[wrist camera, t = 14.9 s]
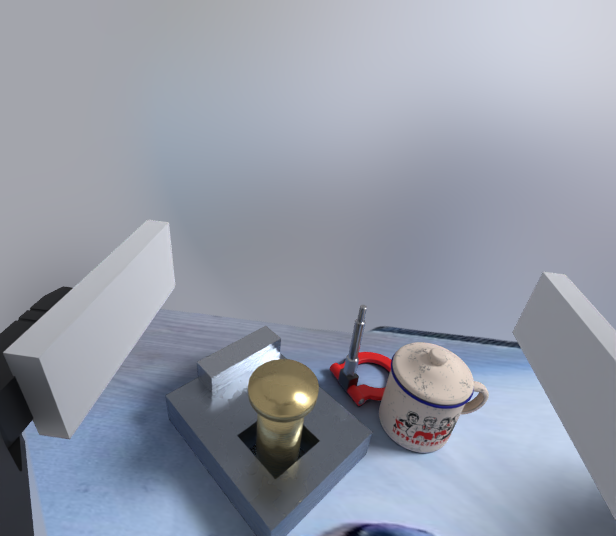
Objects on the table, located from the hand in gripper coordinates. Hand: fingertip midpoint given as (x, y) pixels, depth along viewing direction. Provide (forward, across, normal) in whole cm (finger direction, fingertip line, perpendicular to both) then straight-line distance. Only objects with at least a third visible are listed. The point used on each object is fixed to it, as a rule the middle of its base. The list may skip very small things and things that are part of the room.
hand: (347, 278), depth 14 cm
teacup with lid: (+20, +14, -32) cm, 40 cm away
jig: (+15, -4, -32) cm, 35 cm away
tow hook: (+25, +8, -32) cm, 41 cm away
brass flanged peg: (+12, -3, -32) cm, 34 cm away
